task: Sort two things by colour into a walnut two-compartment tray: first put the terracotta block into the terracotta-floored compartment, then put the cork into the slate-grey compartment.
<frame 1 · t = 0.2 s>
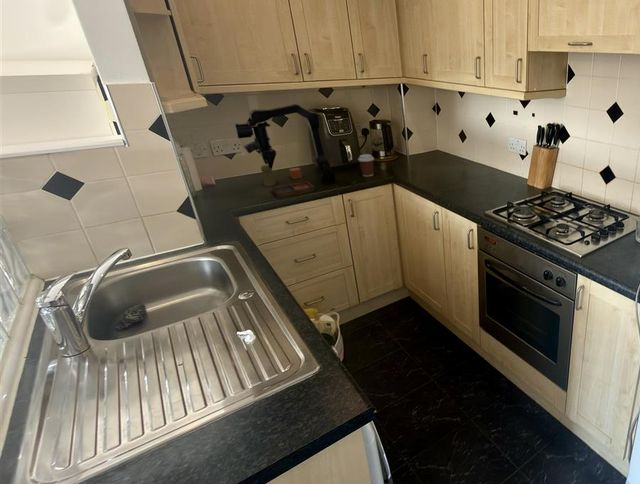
hand: (268, 165, 210), 15 cm above the worktop, tool pointing down, fingers open, 9 cm apart
coffee cup: (368, 175, 246), on the worktop
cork: (270, 184, 227), on the worktop
terracotta block: (296, 177, 240), on the worktop
sorting tray: (293, 191, 218), on the worktop
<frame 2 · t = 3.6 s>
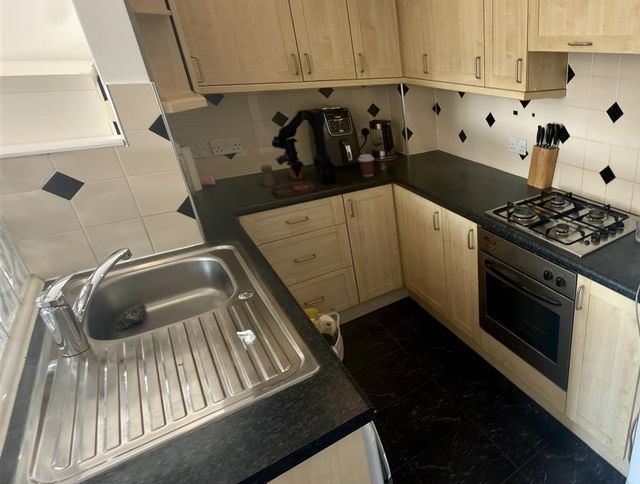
hand: (296, 175, 239), 1 cm above the worktop, tool pointing down, fingers closed on terracotta block, 5 cm apart
terracotta block: (296, 177, 240), on the worktop, touching gripper
everything else where it was.
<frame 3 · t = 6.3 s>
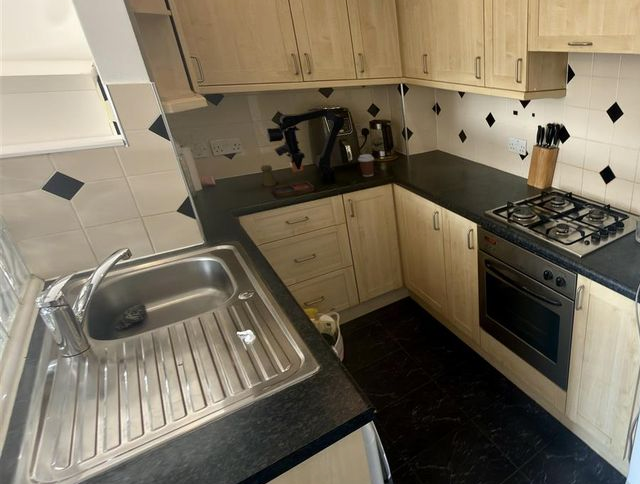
hand: (297, 168, 219), 11 cm above the worktop, tool pointing down, fingers closed on terracotta block, 5 cm apart
terracotta block: (297, 170, 219), point 10 cm above the worktop, touching gripper
everything else where it was.
when the fingers open (2 cm above the worktop, at t = 9.2 s): terracotta block stays where it is, resting on sorting tray.
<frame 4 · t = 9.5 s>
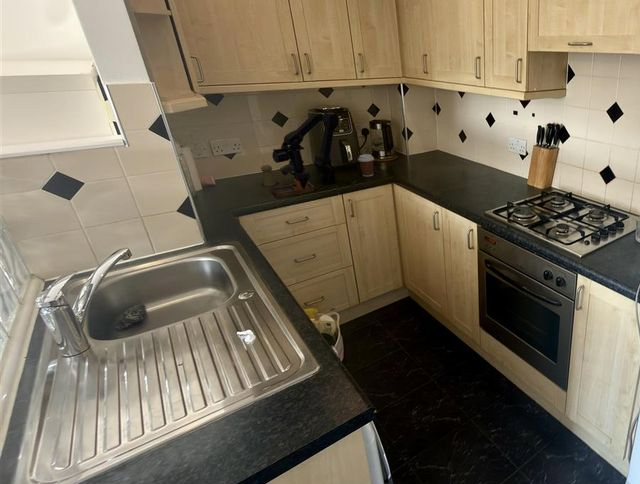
hand: (301, 186, 220), 2 cm above the worktop, tool pointing down, fingers open, 7 cm apart
terracotta block: (302, 188, 220), point 1 cm above the worktop, touching sorting tray
everything else where it was.
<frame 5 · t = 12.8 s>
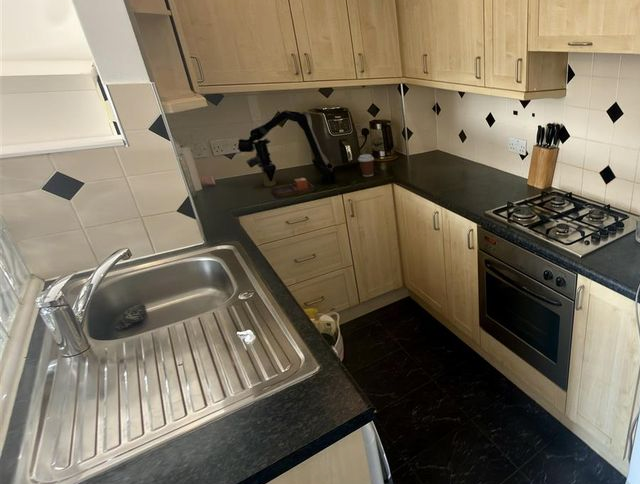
hand: (269, 179, 226), 3 cm above the worktop, tool pointing down
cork: (270, 184, 227), on the worktop, touching gripper
everything else where it was.
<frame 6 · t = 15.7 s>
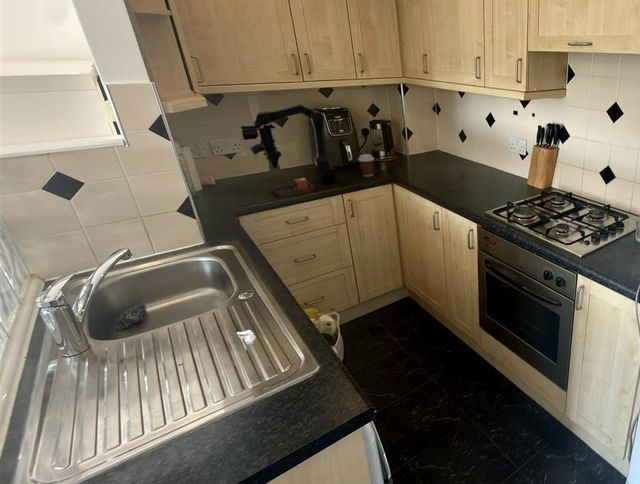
hand: (274, 167, 214), 13 cm above the worktop, tool pointing down, fingers closed on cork, 4 cm apart
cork: (276, 174, 216), point 9 cm above the worktop, touching gripper
everything else where it was.
when the fingers open (5 cm above the worktop, at t = 18.6 s): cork stays where it is, resting on sorting tray.
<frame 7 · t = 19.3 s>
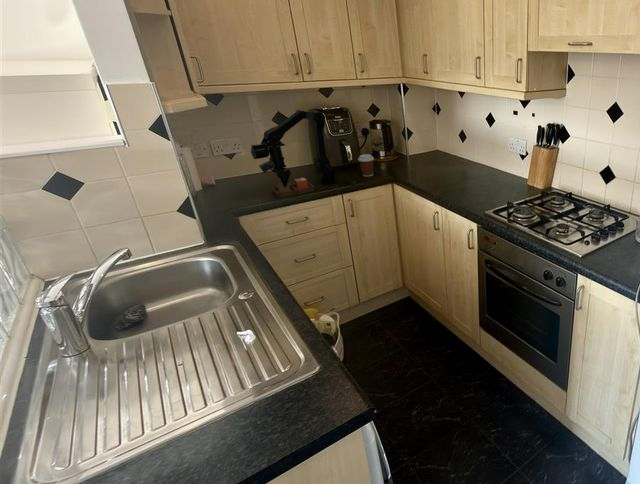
hand: (282, 184, 213), 5 cm above the worktop, tool pointing down, fingers open, 9 cm apart
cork: (285, 191, 215), point 1 cm above the worktop, touching sorting tray
everything else where it was.
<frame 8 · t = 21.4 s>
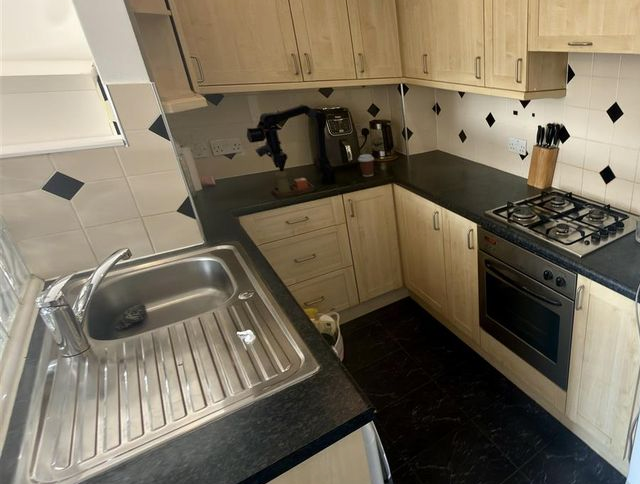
hand: (279, 169, 210), 13 cm above the worktop, tool pointing down, fingers open, 9 cm apart
nothing on the worktop moved.
at the end: terracotta block inside the target area on the sorting tray (0.0 cm from its centre), point 0.8 cm above the sorting tray's base; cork inside the target area on the sorting tray (0.2 cm from its centre), point 0.6 cm above the sorting tray's base; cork tilted 0° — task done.
